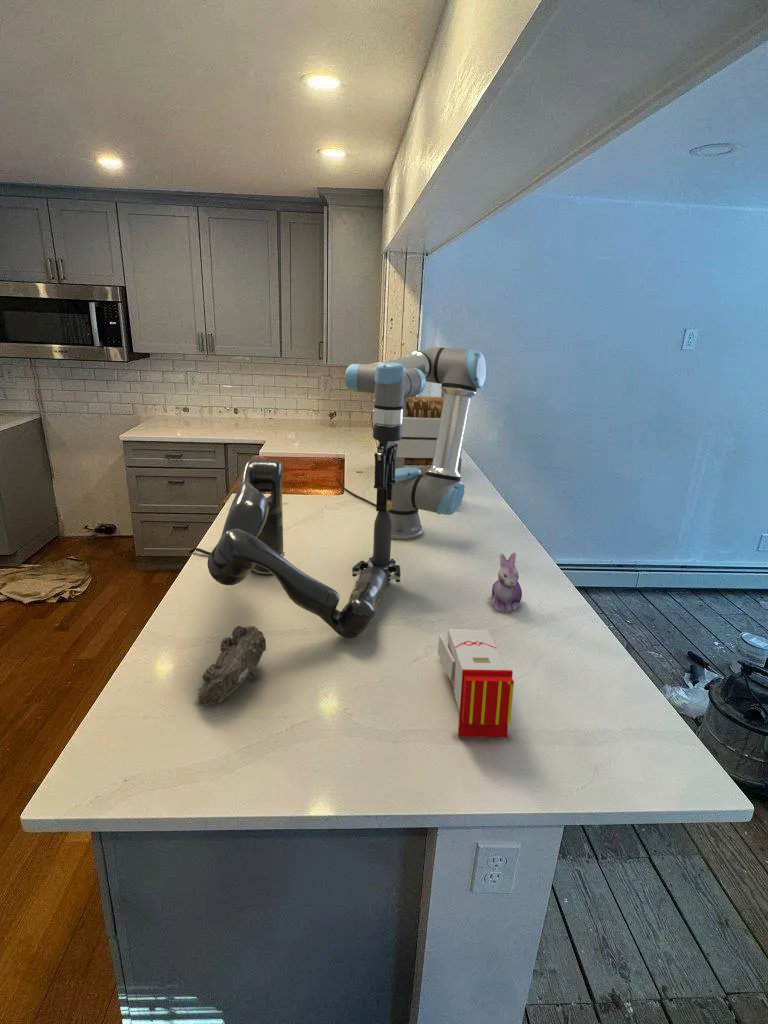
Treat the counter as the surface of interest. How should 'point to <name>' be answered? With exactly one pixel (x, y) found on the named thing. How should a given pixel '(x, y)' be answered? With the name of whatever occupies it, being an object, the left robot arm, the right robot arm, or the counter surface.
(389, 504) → the cap
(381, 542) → the bottle
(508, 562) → the figurine
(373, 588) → the left robot arm
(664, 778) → the counter surface
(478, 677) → the toy
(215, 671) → the fossil
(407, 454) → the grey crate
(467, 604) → the counter surface
